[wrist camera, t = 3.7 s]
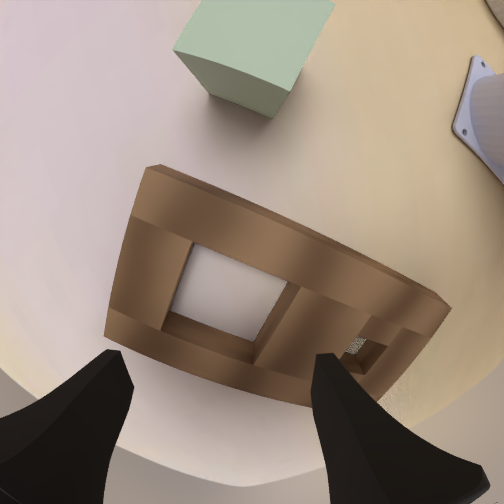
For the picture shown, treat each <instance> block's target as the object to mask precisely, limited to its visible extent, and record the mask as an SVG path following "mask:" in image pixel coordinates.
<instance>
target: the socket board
mask: <svg viewBox="0 0 504 504" xmlns="http://www.w3.org/2000/svg"><path fill="white" fill-rule="evenodd" d="M194 243H197V244H200V245H202V246H204V247H207V248H209V249H212V250H214V251H216V252H219V253H221V254H223V255H226V256H228V257H231V258H233V259H235V260H238V261H240V262H243V263H245V264H247V265H250V266H252V267H255V268H257V269H260V270H262V271H264V272H267V273H269V274H272V275H274V276H277V277H279V278H281V279H284V280H286V281H288V283H287V285H286V286H285V288H284V290H283V292H282V294H281V295H280V297H279V299H278V301H277V303H276V304H275V306H274V308H273V310H272V311H271V313H270V315H269V317H268V318H267V320H266V322H265V323H264V325H263V327H262V329H261V330H260V332H259V334H258V335H257V337H256V339H255V341H254V342H251V341H248V340H245V339H242V338H239V337H236V336H234V335H231V334H228V333H226V332H223V331H220V330H217V329H215V328H212V327H210V326H207V325H204V324H202V323H199V322H197V321H194V320H192V319H189V318H187V317H184V316H182V315H179V314H177V313H175V312H172V311H170V308H171V305H172V302H173V299H174V296H175V294H176V291H177V288H178V285H179V283H180V280H181V277H182V274H183V272H184V269H185V266H186V264H187V261H188V258H189V256H190V253H191V251H192V248H193V246H194ZM451 309H452V308H451V307H450V306H449V305H448V304H447V303H446V302H445V301H444V300H443V299H442V298H441V297H440V296H439V295H438V294H436V293H435V292H433V291H432V290H430V289H428V288H426V287H424V286H422V285H421V284H419V283H417V282H415V281H413V280H411V279H409V278H408V277H406V276H404V275H402V274H400V273H398V272H396V271H394V270H392V269H390V268H389V267H387V266H385V265H383V264H381V263H379V262H377V261H375V260H373V259H371V258H369V257H367V256H365V255H363V254H361V253H359V252H357V251H355V250H353V249H351V248H349V247H347V246H345V245H343V244H341V243H339V242H337V241H335V240H333V239H331V238H329V237H326V236H324V235H322V234H320V233H318V232H316V231H314V230H312V229H310V228H307V227H305V226H303V225H301V224H299V223H297V222H295V221H292V220H290V219H288V218H286V217H284V216H282V215H279V214H277V213H275V212H273V211H270V210H268V209H266V208H264V207H262V206H259V205H257V204H255V203H252V202H250V201H248V200H246V199H243V198H241V197H239V196H236V195H234V194H232V193H229V192H227V191H225V190H222V189H220V188H218V187H215V186H213V185H210V184H208V183H206V182H203V181H201V180H198V179H196V178H193V177H191V176H189V175H186V174H184V173H181V172H179V171H176V170H174V169H171V168H169V167H166V166H163V165H161V164H160V165H155V166H150V167H146V169H145V172H144V175H143V177H142V180H141V183H140V186H139V189H138V192H137V195H136V199H135V202H134V205H133V208H132V212H131V215H130V218H129V222H128V225H127V229H126V232H125V236H124V240H123V244H122V248H121V252H120V256H119V260H118V264H117V268H116V273H115V277H114V282H113V286H112V291H111V296H110V302H109V307H108V313H107V319H106V325H105V331H104V337H106V338H108V339H110V340H112V341H114V342H116V343H118V344H121V345H123V346H125V347H127V348H129V349H131V350H134V351H136V352H138V353H140V354H143V355H145V356H147V357H150V358H152V359H154V360H157V361H159V362H162V363H164V364H167V365H169V366H172V367H174V368H177V369H179V370H182V371H185V372H187V373H190V374H193V375H196V376H199V377H201V378H204V379H207V380H210V381H213V382H216V383H219V384H222V385H226V386H229V387H232V388H235V389H239V390H242V391H246V392H249V393H253V394H256V395H260V396H264V397H267V398H271V399H275V400H279V401H284V402H288V403H292V404H297V405H301V406H306V407H311V408H312V401H311V393H310V391H311V385H312V379H313V372H314V366H315V359H316V354H324V353H334V354H335V355H336V356H337V358H338V359H339V360H340V362H341V363H342V364H343V365H344V367H345V368H346V369H347V370H348V371H349V373H350V374H351V375H352V376H353V377H354V379H355V380H356V381H357V382H358V383H359V384H360V385H361V386H362V388H363V389H364V390H365V391H366V392H367V393H368V394H369V395H370V396H371V397H372V398H373V399H374V400H375V401H376V402H377V401H378V400H379V399H380V398H381V397H382V396H383V395H384V394H385V393H386V392H387V391H388V390H389V388H390V387H391V386H392V385H393V384H394V383H395V382H396V381H397V380H398V378H399V377H400V376H401V375H402V374H403V373H404V372H405V370H406V369H407V368H408V367H409V366H410V364H411V363H412V362H413V361H414V359H415V358H416V357H417V356H418V355H419V353H420V352H421V351H422V349H423V348H424V347H425V346H426V344H427V343H428V342H429V340H430V339H431V338H432V336H433V335H434V333H435V332H436V331H437V329H438V328H439V326H440V325H441V324H442V322H443V321H444V319H445V318H446V316H447V315H448V313H449V312H450V310H451ZM356 336H359V337H362V338H365V339H367V340H366V342H365V343H364V344H363V346H362V347H361V348H360V350H359V351H358V352H357V354H356V355H354V354H350V353H347V352H345V351H346V350H347V348H348V347H349V346H350V344H351V343H352V342H353V340H354V339H355V338H356Z"/></svg>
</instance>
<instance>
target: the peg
mask: <svg viewBox="0 0 504 504" xmlns="http://www.w3.org/2000/svg"><path fill="white" fill-rule="evenodd" d="M335 5H336V3H333V2H331V1H329V0H202V1H201V3H200V4H199V6H198V7H197V9H196V10H195V12H194V13H193V15H192V17H191V18H190V20H189V22H188V23H187V25H186V26H185V28H184V30H183V32H182V33H181V35H180V37H179V39H178V40H177V42H176V44H175V46H174V47H173V49H172V50H173V51H174V52H175V53H176V54H177V56H178V57H179V58H180V59H181V60H182V62H183V63H184V64H185V65H186V66H187V68H188V69H189V70H190V71H191V72H192V74H193V75H194V76H195V77H196V78H197V80H198V81H199V82H200V83H201V85H202V86H203V87H204V88H205V89H206V91H207V92H208V93H209V94H211V95H214V96H217V97H219V98H222V99H225V100H227V101H230V102H233V103H235V104H238V105H240V106H243V107H245V108H248V109H250V110H252V111H255V112H257V113H260V114H262V115H264V116H266V117H269V118H271V119H273V117H274V116H275V114H276V113H277V111H278V109H279V108H280V106H281V105H282V103H283V102H284V100H285V99H286V97H287V96H288V94H289V93H290V91H291V89H292V87H293V85H294V83H295V81H296V79H297V77H298V75H299V73H300V71H301V69H302V67H303V65H304V63H305V61H306V59H307V57H308V55H309V53H310V51H311V50H312V48H313V46H314V44H315V42H316V40H317V38H318V36H319V34H320V32H321V31H322V29H323V27H324V25H325V23H326V21H327V19H328V17H329V16H330V14H331V12H332V10H333V8H334V6H335Z"/></svg>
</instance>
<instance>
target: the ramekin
mask: <svg viewBox="0 0 504 504" xmlns="http://www.w3.org/2000/svg"><path fill="white" fill-rule="evenodd" d="M486 2H487V4H488V6H489V7H490V9H491V11H492V12H493V14H494V15H495V17H496V18H497V20H498V21H499V23H500V24H501V25H502V27H503V28H504V0H486Z"/></svg>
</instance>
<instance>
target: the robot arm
mask: <svg viewBox="0 0 504 504" xmlns="http://www.w3.org/2000/svg"><path fill="white" fill-rule="evenodd" d="M453 130H454V132H455V134H456V135H458V136H459V137H460V138H461V139H462V140H463V141H464V142H465V143H466V144H467V145H468V146H469V147H470V148H471V149H472V150H473V151H474V152H475V153H476V154H477V155H478V156H479V157H480V158H481V160H482V161H483V162H484V163H485V164H486V165H487V166H488V167H489V168H490V169H491V171H492V172H493V173H494V174H495V175H496V176H497V177H498V179H499V180H500V181H501V182H502V183H503V185H504V74H497V75H496V74H495V72H494V71H493V70H492V69H491V68H490V67H489V66H488V65H487V64H486V62H485V61H484V60H483V59H482V58H481V57H480V56H479V55H474V56H473V57H472V62H471V66H470V70H469V74H468V78H467V81H466V85H465V88H464V92H463V95H462V99H461V102H460V105H459V108H458V111H457V114H456V117H455V120H454V123H453ZM462 130H463V131H464V135H463V133H462ZM133 391H134V385H133V383H132V381H131V378H130V375H129V373H128V370H127V368H126V365H125V362H124V360H123V357H122V354H121V351H118V350H110V349H107V350H105V351H104V352H102V353H101V354H100V355H98V356H97V357H96V358H94V359H93V360H92V361H91V362H89V363H88V364H87V365H86V366H84V367H83V368H82V369H81V370H79V371H78V372H77V373H76V374H74V375H73V376H72V377H71V378H69V379H68V380H67V381H65V382H64V383H63V384H61V385H60V386H58V387H57V388H56V389H54V390H53V391H52V392H50V393H49V394H47V395H46V396H44V397H43V398H41V399H39V400H38V401H36V402H34V403H32V404H31V405H29V406H27V407H25V408H23V409H21V410H19V411H17V412H14V413H12V414H10V415H7V416H5V417H3V418H0V504H103V498H104V490H105V483H106V477H107V472H108V468H109V463H110V459H111V456H112V452H113V450H114V447H115V444H116V442H117V439H118V437H119V434H120V431H121V429H122V426H123V424H124V421H125V419H126V416H127V413H128V411H129V407H130V404H131V400H132V395H133ZM310 393H311V401H312V409H313V416H314V420H315V424H316V428H317V432H318V436H319V440H320V444H321V448H322V452H323V456H324V460H325V464H326V469H327V474H328V483H329V493H330V502H331V504H470V503H472V502H473V501H475V500H476V499H477V498H479V497H480V496H481V495H483V494H484V493H485V492H486V491H487V490H488V489H489V488H490V483H489V481H488V479H487V476H486V474H485V472H484V470H483V468H482V467H481V465H478V464H475V463H472V462H470V461H467V460H464V459H461V458H458V457H456V456H454V455H452V454H449V453H447V452H445V451H443V450H441V449H439V448H437V447H435V446H434V445H432V444H430V443H429V442H427V441H425V440H424V439H422V438H420V437H419V436H417V435H416V434H414V433H413V432H411V431H410V430H409V429H407V428H406V427H404V426H403V425H402V424H401V423H399V422H398V421H397V420H396V419H394V418H393V417H392V416H391V415H390V414H389V413H387V412H386V411H385V410H384V409H383V408H382V407H381V406H380V405H379V404H378V403H377V402H376V401H375V400H374V399H373V398H372V397H371V396H370V395H369V394H368V393H367V392H366V391H365V390H364V389H363V388H362V386H361V385H360V384H359V383H358V382H357V381H356V380H355V379H354V377H353V376H352V375H351V374H350V373H349V371H348V370H347V369H346V368H345V367H344V365H343V364H342V363H341V362H340V360H339V359H338V358H337V356H336V355H335V354H334V353H324V354H316V359H315V366H314V372H313V379H312V385H311V391H310ZM495 504H499V503H498V502H496V503H495Z"/></svg>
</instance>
